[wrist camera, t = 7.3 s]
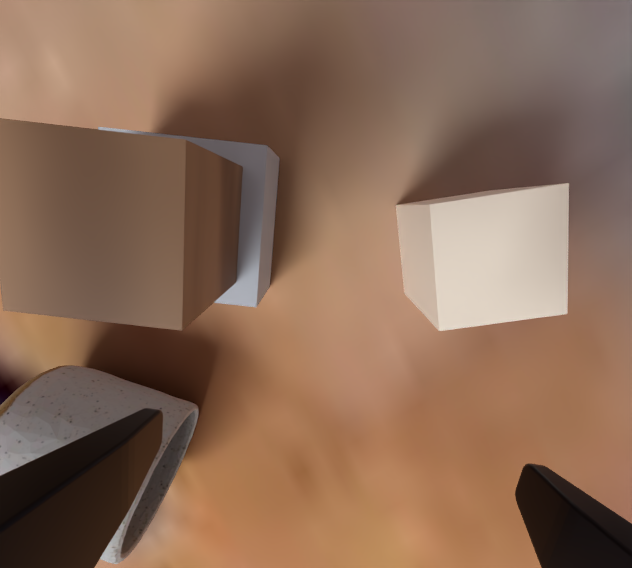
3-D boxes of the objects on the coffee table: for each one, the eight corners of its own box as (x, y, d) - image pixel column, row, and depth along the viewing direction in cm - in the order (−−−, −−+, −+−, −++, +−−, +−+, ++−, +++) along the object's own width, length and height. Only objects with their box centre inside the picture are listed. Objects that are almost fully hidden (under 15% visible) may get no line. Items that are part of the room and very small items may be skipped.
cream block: (489, 190, 18) (569, 182, 12) (492, 280, 19) (567, 313, 13) (395, 205, 18) (429, 204, 12) (404, 293, 19) (439, 331, 14)
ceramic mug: (81, 336, 20) (-59, 416, 13) (211, 379, 21) (147, 480, 13) (54, 472, 23) (-76, 604, 16) (170, 508, 23) (98, 652, 16)
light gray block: (279, 158, 18) (267, 145, 14) (269, 286, 19) (256, 307, 16) (147, 143, 18) (98, 126, 14) (148, 273, 19) (104, 290, 15)
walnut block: (243, 166, 14) (185, 139, 8) (236, 282, 15) (182, 330, 9) (123, 153, 14) (-18, 116, 8) (126, 270, 15) (3, 310, 9)
